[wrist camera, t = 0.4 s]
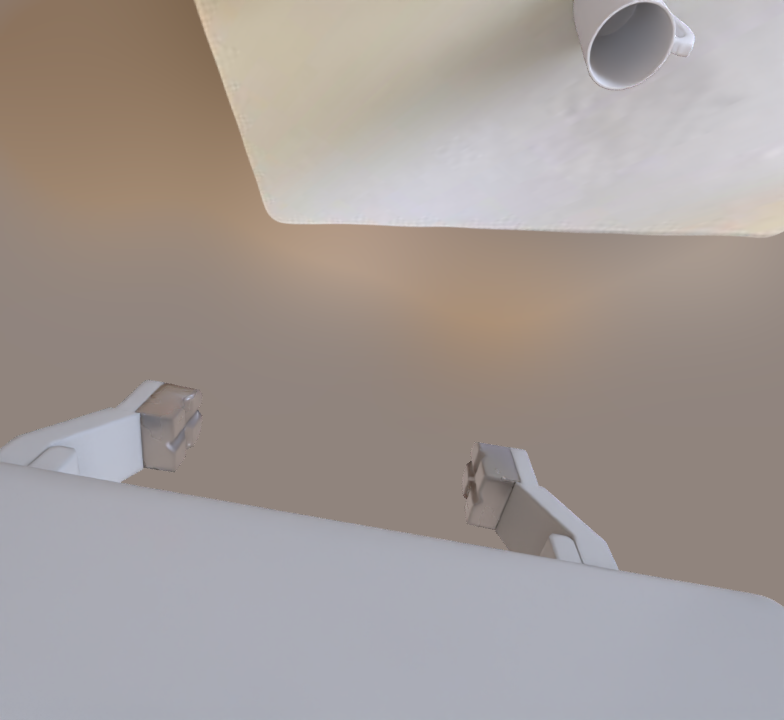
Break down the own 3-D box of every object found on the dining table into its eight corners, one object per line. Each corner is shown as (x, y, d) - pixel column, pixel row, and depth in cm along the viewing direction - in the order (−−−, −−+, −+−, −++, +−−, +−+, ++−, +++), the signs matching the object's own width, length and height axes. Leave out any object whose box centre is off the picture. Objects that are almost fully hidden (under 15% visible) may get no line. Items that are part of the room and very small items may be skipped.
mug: (559, 33, 48) (573, 84, 41) (586, -50, 43) (608, -7, 36) (653, 47, 48) (683, 100, 41) (692, -34, 43) (735, 12, 36)
